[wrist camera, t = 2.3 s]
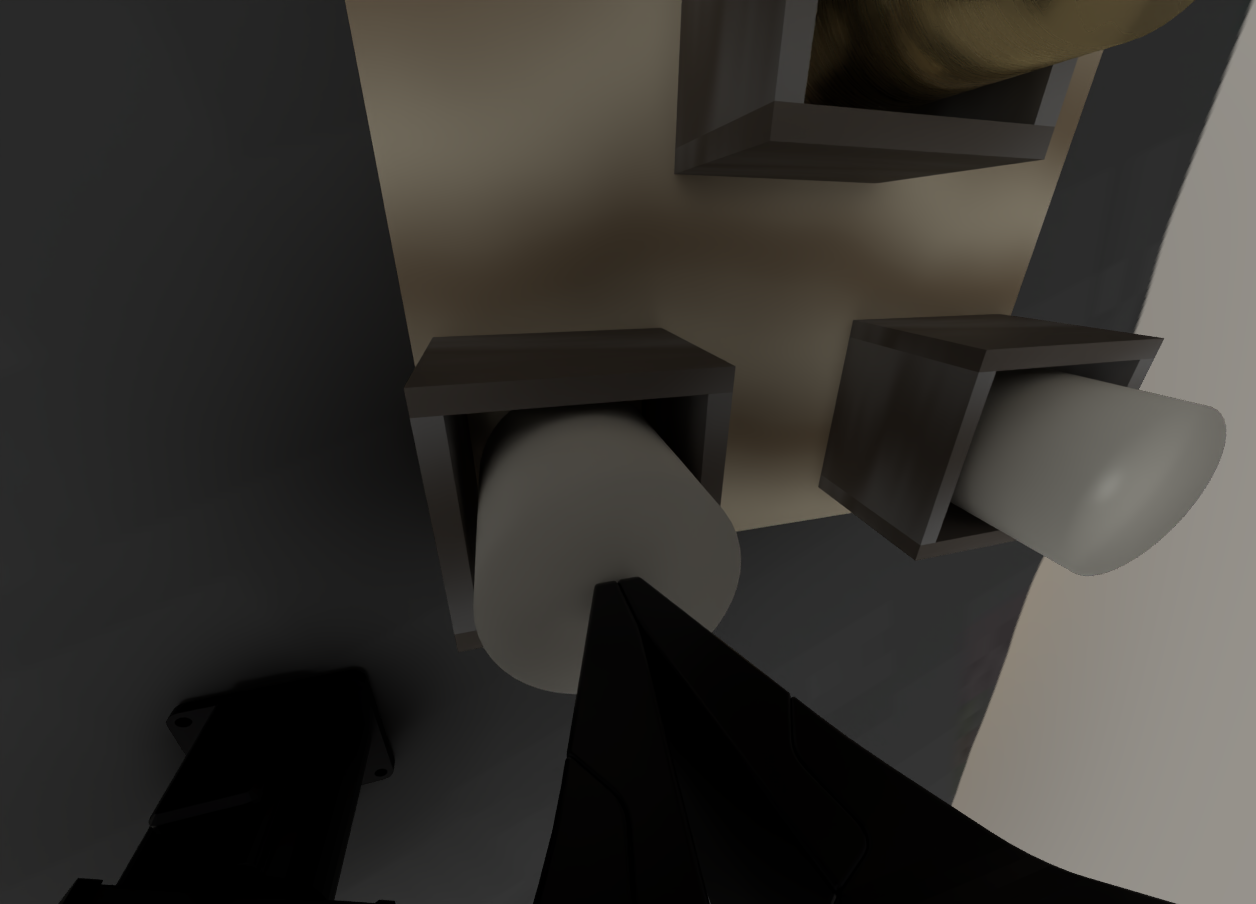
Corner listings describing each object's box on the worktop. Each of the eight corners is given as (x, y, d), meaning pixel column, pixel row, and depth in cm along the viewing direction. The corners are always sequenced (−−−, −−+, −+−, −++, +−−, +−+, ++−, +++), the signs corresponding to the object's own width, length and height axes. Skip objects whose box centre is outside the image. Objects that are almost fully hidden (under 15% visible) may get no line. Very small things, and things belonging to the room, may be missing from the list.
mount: (920, 482, 23) (1062, 563, 17) (458, 551, 18) (442, 702, 12) (1096, -73, 14) (1487, -273, 9) (308, -265, 9) (10, -1090, 3)
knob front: (655, 534, 14) (727, 662, 10) (490, 560, 13) (491, 719, 9) (661, 380, 12) (756, 458, 8) (466, 394, 11) (452, 495, 7)
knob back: (996, 480, 18) (1161, 560, 13) (890, 497, 17) (1033, 590, 12) (1046, 353, 16) (1261, 397, 11) (930, 361, 14) (1119, 414, 10)
